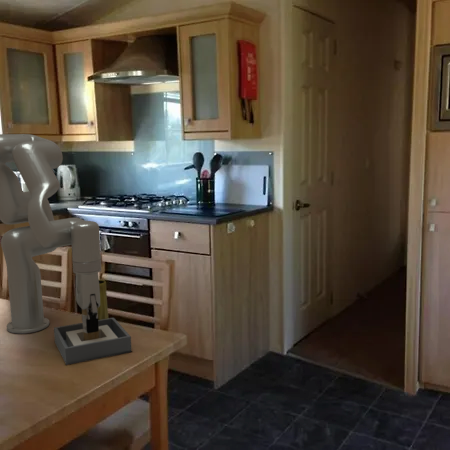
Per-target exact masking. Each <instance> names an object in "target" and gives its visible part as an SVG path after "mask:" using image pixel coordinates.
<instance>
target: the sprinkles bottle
mask: <svg viewBox="0 0 450 450" xmlns="http://www.w3.org/2000/svg"><path fill="white" fill-rule="evenodd" d="M96 303H97V302H96ZM88 308H91V306H88ZM90 312H91V310H89V314H90ZM97 313H98V312H97ZM86 319H87V312H86V309H85V310H83V309H82V308H81V321H82V322H81V323H83V334H84V340H83V341H87V340H92V339H98V338H99V331H98V332H93V333H87V327H86ZM98 326H99V325H98Z"/></svg>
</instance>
